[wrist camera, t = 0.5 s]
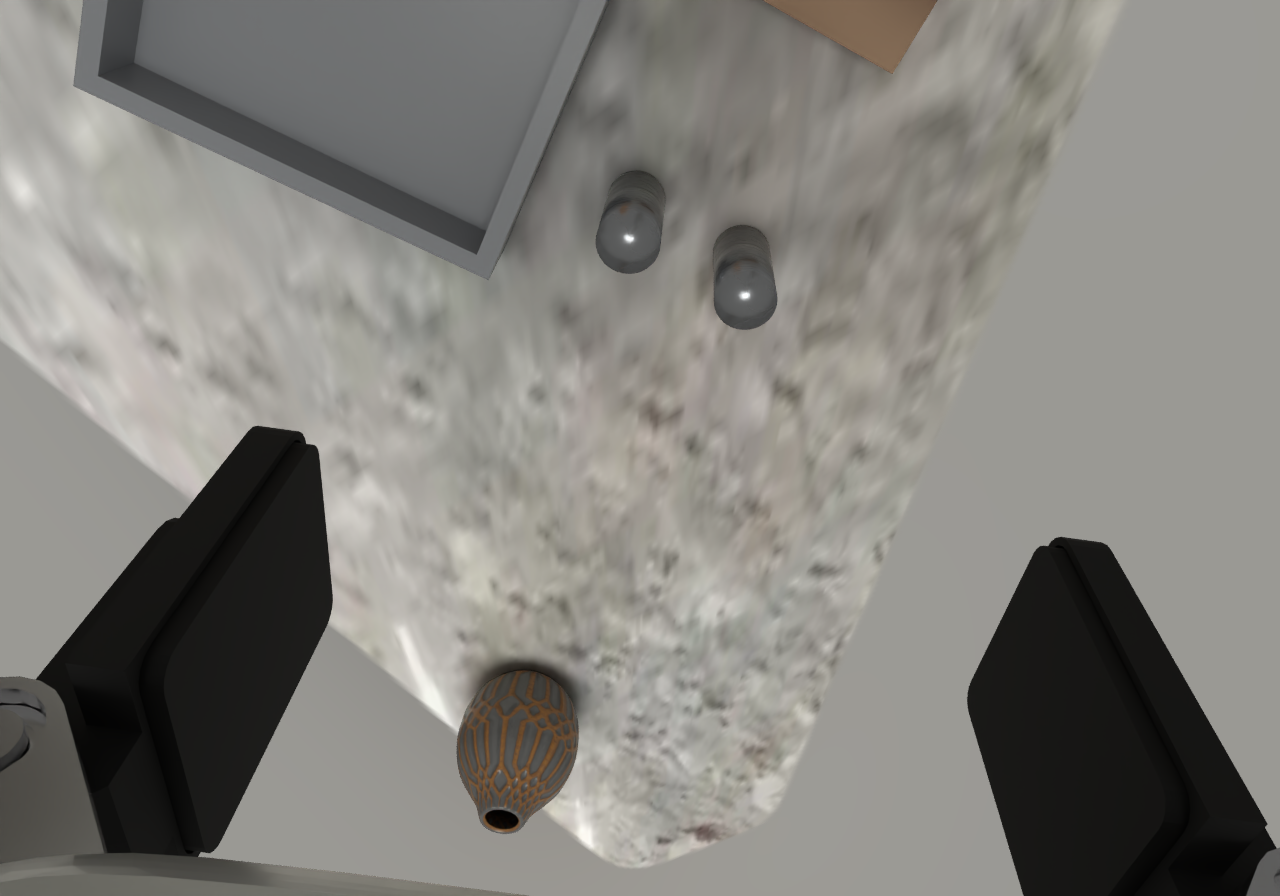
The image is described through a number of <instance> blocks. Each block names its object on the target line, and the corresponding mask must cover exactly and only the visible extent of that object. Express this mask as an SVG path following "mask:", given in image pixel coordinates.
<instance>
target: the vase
mask: <svg viewBox="0 0 1280 896" xmlns="http://www.w3.org/2000/svg"><path fill="white" fill-rule="evenodd" d="M578 739H579V728H578V720H577V716H576V712H575V708H574V706H573V703H572V701H571V699H570V697H569V696H568V695H567V693H566V692H565V691H564V689H563V688H562V687H561V686H560V685H559V684H557V683H556V682H555V681H554V680H552V679H551V678H549V677H547V676H546V675H543V674H541V673H538V672H534V671H527V670H521V671H513V672H509V673H506V674H503V675H500V676H498V677H496V678H494V679H493V680H491V681H489V682H488V683H487V684H485V685H484V686H483V687H482V688H481V689H480V690H479V691H478V693H477V694H476V695H475V696H474V698H473V699H472V701H471V702H470V704H469V706H468V707H467V709H466V711H465V714H464V716H463V719H462V722H461V725H460V729H459V733H458V739H457V763H458V769H459V774H460V777H461V779H462V782H463V784H464V786H465V788H466V790H467V791H468V793H469V795H470V796H471V798H472V800H473V801H474V803H475V805H476V807H477V810H478V815H479V819H480V822H481V823H482V825H483V826H484V827H485V828H487V829H488V830H490V831H493V832H496V833H501V834H509V833H514V832H517V831H519V830H520V829H521V828H522V827H523V826H524V824H525V823H526V822H527V820H528V819H529V818H530V817H531V815H533V814H534V813H535V812H537V811H538V810H540V809H541V808H542V807H544V806H545V805H546V804H547V803H549V802H550V801H551V800H552V799H553V798H554V797H555V796H556V795H557V794H558V793H559V792H560V790H561V789H562V788H563V786H564V784H565V783H566V781H567V779H568V777H569V775H570V773H571V771H572V768H573V766H574V763H575V759H576V755H577V750H578Z"/></svg>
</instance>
